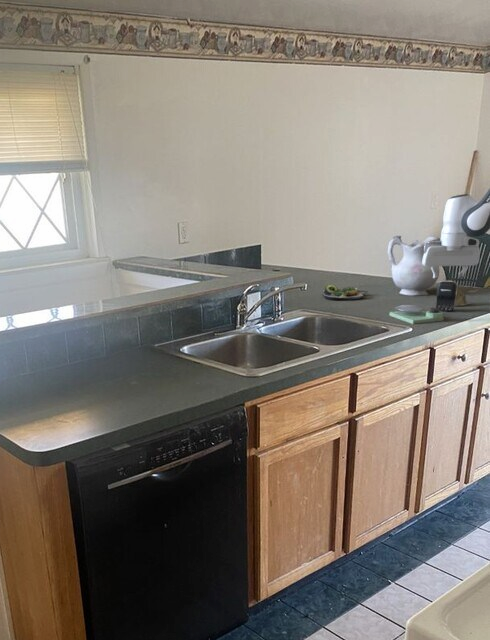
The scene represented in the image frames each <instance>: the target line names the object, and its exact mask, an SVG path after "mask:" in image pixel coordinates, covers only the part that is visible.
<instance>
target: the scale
mask: <svg viewBox="0 0 490 640" xmlns="http://www.w3.org/2000/svg"><path fill="white" fill-rule="evenodd" d="M389 316H390V317H393V318H395V319H398V320H400V321H403V322H407V323H409V324H412V325H418V324H426V323H433V322H442V321H444V319H445V317H444V312H443V311H439V313H430V309H429V310H423V311H420V312H402V311H398V310H396V311H390V312H389Z"/></svg>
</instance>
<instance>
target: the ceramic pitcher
mask: <svg viewBox="0 0 490 640" xmlns="http://www.w3.org/2000/svg"><path fill="white" fill-rule="evenodd" d="M440 239H441V237H438V236H429V237H427V238H426V239H424V240H423V241H419V240H418V239H417V240H416V239H415V240H413V241H412V242H411V243H409V244H407V243H405V242H404V243H403V240H402V236H401V235H394V236H393V237H392V238H391V240H390V241H389V243H388V245H387V256H388V259H389V262H390V264H391V277H392V281H393V283H394V284H395V286H396V287H397V288H400V289H401V290H400V291H398V294H399V295H404V296H428V295H430V293H429V292H427V290H428V289H431V288H432V287H433V286H434V285H435V284H436V283H437V281H438V279H439V277H440V276H438V278H433V272H432V270H431V267H425V266H424V265H423V264H422V259H423V255H424V245H425V244H426V243H428V242H429V241H440ZM395 245H398V246H399V247H400V248H402V251H403V252H402V254H403V256H402V258H401V260H400V261H399V262H396V260H395V255H394V253H393V251H394V247H395ZM435 271H436V273H438V274H439V275H440V266H437V268H436V269H435Z"/></svg>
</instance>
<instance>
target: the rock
mask: <svg viewBox="0 0 490 640" xmlns="http://www.w3.org/2000/svg"><path fill="white" fill-rule="evenodd" d="M446 281H452V282H455V281H454V280H451V279H447V280H446ZM467 304H468V303H467V298H466V295H465V293H464V292H463V290H462V288H461V287H460V285H459V284H458V283H457V294H456V300H455V306H454V307H460V306H461V307H464V306H468V305H467Z"/></svg>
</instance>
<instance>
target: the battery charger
mask: <svg viewBox="0 0 490 640" xmlns="http://www.w3.org/2000/svg"><path fill="white" fill-rule="evenodd" d="M452 281H453V280H452ZM452 281H447V280H441V281H439V283H438V284H437V287H436V303H435V308H439V311H442V312H443V313H453V312H454V311H455V307H456V306H455V300H456V294H457V284H458V283H457V282H456V281H454V282H452Z"/></svg>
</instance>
